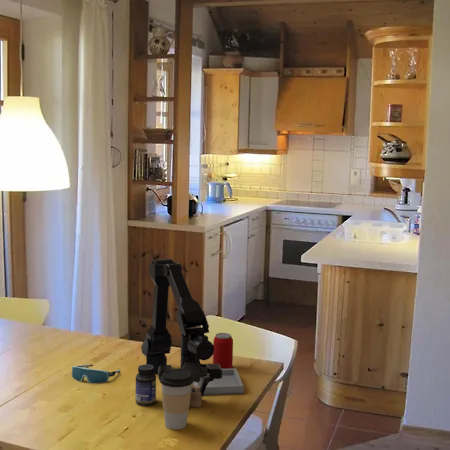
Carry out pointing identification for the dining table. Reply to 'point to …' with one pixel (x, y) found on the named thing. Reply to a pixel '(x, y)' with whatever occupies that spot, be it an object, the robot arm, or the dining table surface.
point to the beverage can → (223, 350)
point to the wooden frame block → (195, 397)
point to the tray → (224, 384)
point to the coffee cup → (176, 397)
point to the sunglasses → (91, 374)
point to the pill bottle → (145, 385)
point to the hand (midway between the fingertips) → (189, 399)
